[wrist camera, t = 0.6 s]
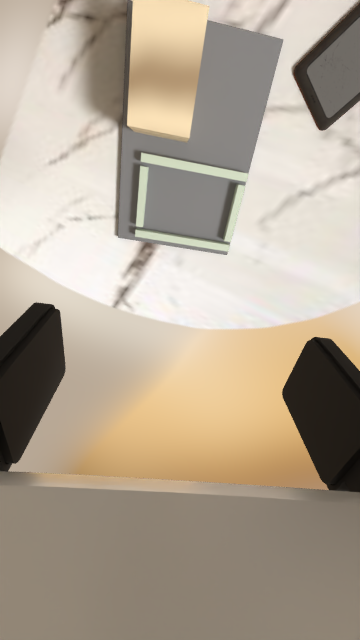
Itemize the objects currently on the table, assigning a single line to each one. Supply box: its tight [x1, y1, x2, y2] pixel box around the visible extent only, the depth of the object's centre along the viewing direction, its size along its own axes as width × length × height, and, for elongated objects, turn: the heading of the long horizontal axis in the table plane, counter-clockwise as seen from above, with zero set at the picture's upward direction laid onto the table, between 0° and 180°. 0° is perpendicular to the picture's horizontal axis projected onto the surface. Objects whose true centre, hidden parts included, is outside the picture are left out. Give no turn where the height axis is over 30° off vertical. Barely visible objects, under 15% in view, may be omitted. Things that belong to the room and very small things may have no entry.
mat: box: [118, 0, 283, 255], centre depth 27 cm, size 20×14×2 cm
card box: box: [127, 0, 209, 142], centre depth 23 cm, size 8×6×5 cm
